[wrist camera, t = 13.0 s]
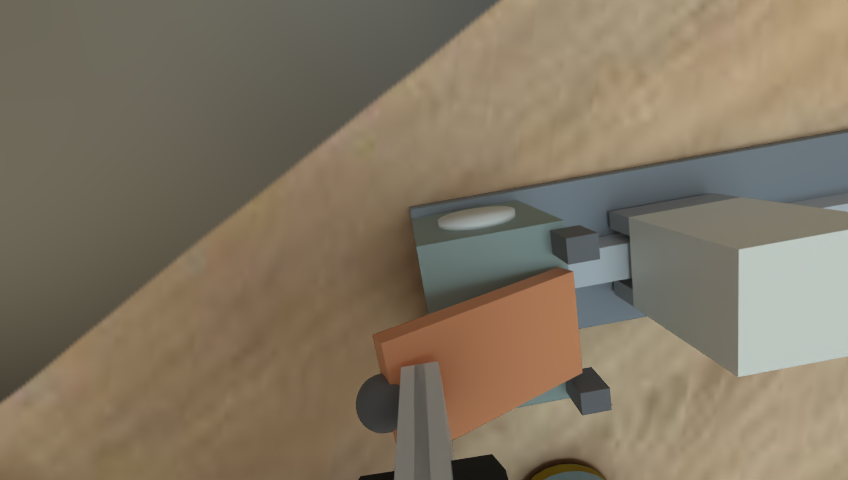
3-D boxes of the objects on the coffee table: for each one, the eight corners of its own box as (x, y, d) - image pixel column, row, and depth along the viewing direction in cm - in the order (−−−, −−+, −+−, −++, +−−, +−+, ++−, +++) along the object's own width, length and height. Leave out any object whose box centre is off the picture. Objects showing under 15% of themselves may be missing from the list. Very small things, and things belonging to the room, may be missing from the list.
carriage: (614, 294, 24) (738, 376, 15) (609, 211, 23) (738, 249, 14) (713, 276, 24) (891, 348, 15) (712, 193, 23) (904, 219, 14)
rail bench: (434, 345, 26) (453, 457, 17) (409, 206, 24) (415, 243, 15) (918, 256, 27) (1201, 315, 17) (934, 114, 25) (1263, 92, 15)
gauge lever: (559, 360, 18) (362, 456, 14) (549, 264, 17) (335, 341, 13) (592, 378, 16) (380, 491, 13) (583, 273, 15) (351, 363, 12)
